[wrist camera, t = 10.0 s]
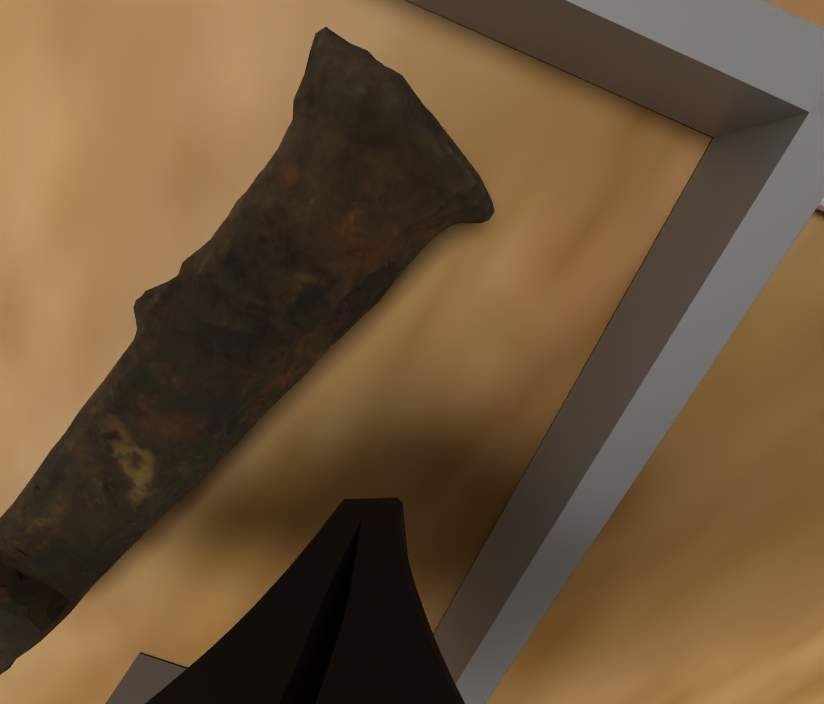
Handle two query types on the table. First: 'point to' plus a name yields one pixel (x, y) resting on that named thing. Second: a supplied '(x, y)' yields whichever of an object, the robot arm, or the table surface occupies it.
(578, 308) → the table surface
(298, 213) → the hand tool
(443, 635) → the u-shaped frame
